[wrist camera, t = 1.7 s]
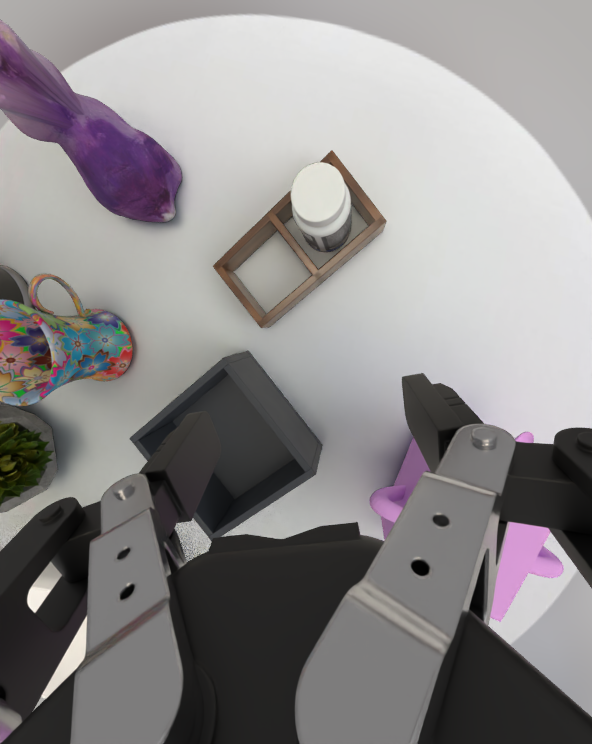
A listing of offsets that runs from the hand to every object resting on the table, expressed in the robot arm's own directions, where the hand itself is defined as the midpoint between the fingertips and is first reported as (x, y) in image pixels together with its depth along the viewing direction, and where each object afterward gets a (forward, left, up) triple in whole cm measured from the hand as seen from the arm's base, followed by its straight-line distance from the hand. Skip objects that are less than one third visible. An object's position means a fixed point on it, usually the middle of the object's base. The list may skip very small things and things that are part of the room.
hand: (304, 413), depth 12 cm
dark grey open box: (0, -14, -20) cm, 24 cm away
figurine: (-28, -5, -20) cm, 34 cm away
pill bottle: (-11, +7, -20) cm, 24 cm away
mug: (-19, -20, -20) cm, 34 cm away
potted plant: (-16, -38, -20) cm, 45 cm away
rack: (-11, +4, -20) cm, 23 cm away
